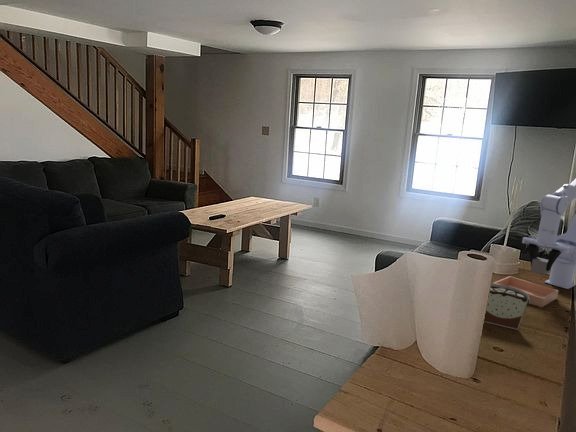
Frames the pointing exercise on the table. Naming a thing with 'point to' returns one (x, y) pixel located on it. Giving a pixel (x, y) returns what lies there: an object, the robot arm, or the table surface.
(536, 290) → the terracotta bin
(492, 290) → the food container
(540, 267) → the grey block
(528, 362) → the table surface
